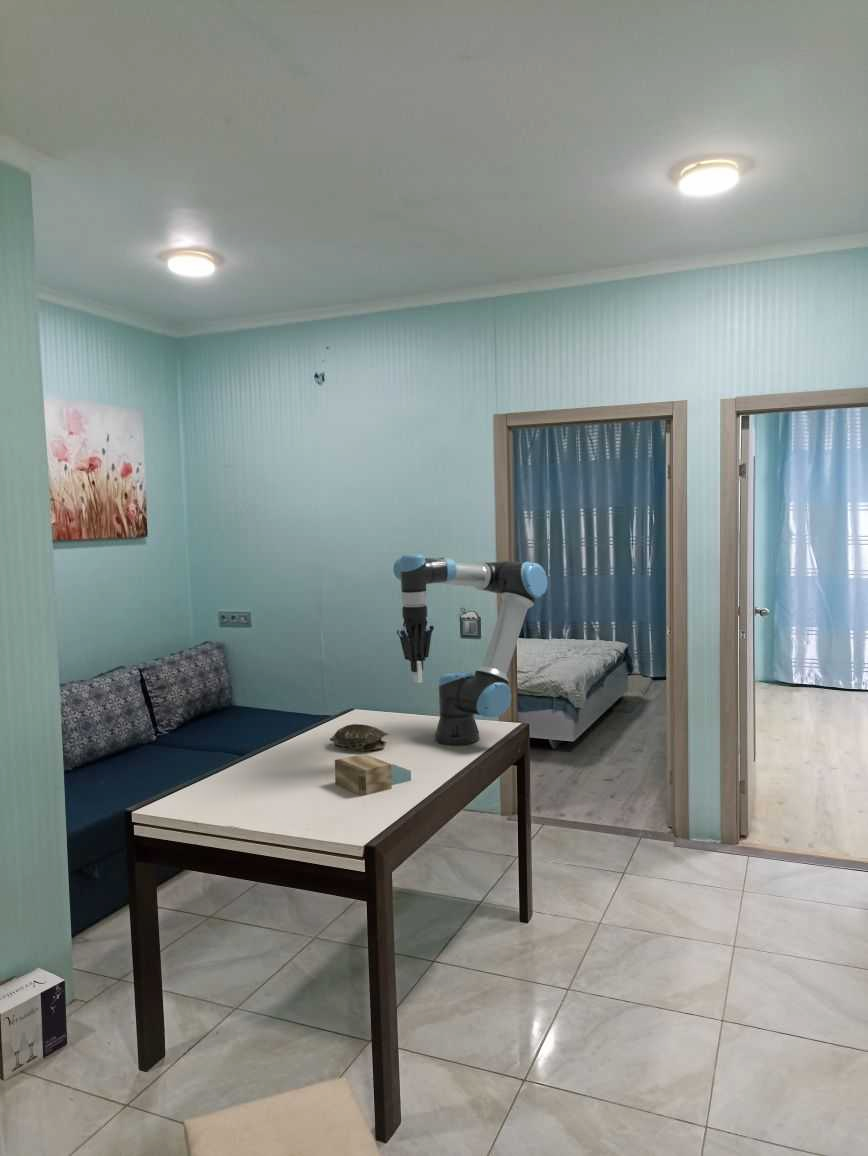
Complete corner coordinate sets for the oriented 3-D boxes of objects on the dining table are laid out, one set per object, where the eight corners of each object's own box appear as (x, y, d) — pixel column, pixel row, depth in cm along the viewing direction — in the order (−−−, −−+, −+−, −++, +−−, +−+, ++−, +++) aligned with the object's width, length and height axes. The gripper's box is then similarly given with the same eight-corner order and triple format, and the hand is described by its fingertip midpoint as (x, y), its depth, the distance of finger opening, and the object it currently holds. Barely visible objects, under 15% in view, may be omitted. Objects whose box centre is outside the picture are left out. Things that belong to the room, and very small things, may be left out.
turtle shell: (345, 721, 299) (394, 716, 290) (350, 747, 299) (398, 742, 289) (318, 731, 285) (367, 726, 275) (322, 758, 285) (372, 753, 275)
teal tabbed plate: (393, 774, 257) (393, 764, 256) (411, 781, 249) (410, 770, 249) (353, 783, 248) (353, 773, 248) (370, 790, 241) (370, 780, 241)
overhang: (364, 777, 253) (364, 753, 253) (391, 788, 242) (391, 764, 242) (335, 783, 247) (334, 760, 247) (361, 796, 236) (361, 771, 236)
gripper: (423, 602, 268) (426, 676, 270) (389, 606, 260) (393, 683, 262) (438, 603, 262) (441, 680, 264) (405, 608, 254) (408, 687, 256)
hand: (417, 681), depth 263 cm, fingers closed
